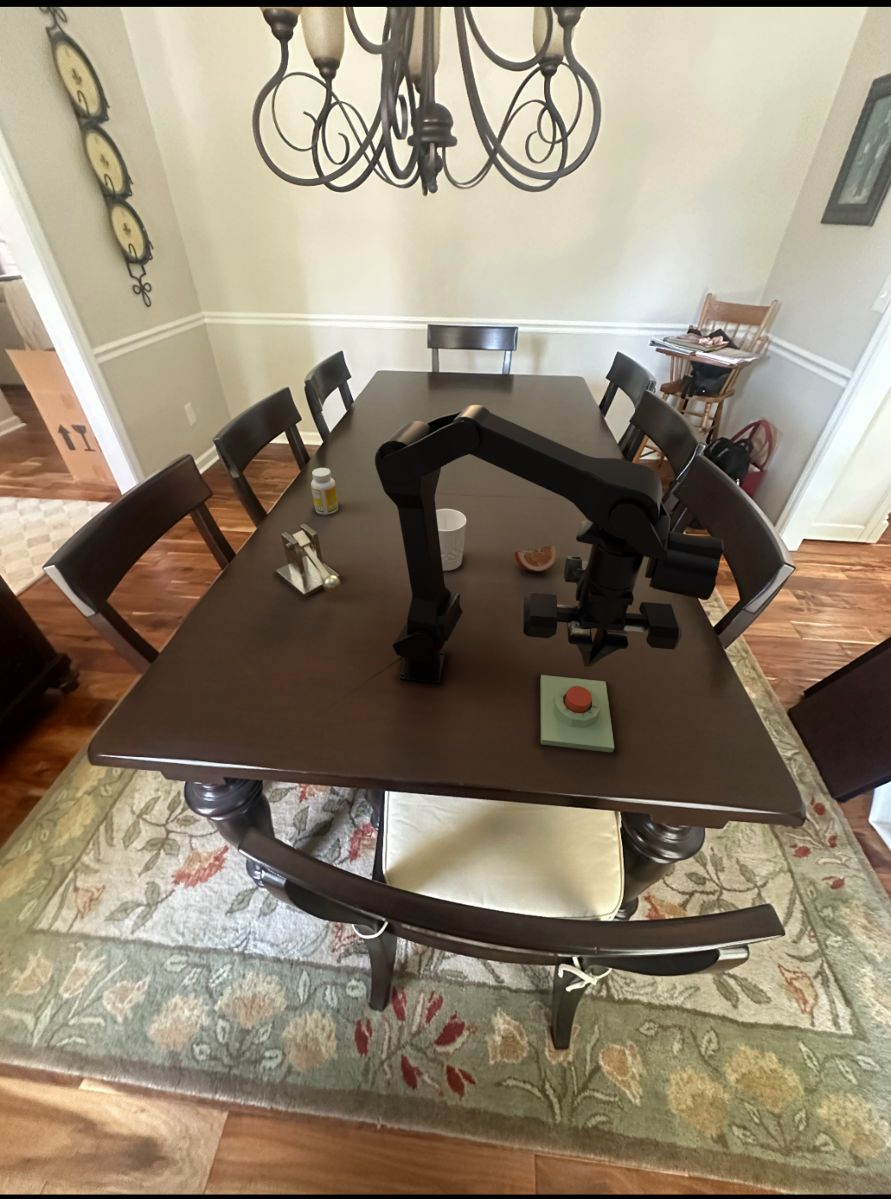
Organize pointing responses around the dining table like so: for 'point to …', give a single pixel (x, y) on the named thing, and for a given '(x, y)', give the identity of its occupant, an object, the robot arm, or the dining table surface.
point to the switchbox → (575, 715)
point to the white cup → (451, 537)
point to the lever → (317, 563)
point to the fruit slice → (536, 558)
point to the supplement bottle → (324, 491)
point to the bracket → (302, 564)
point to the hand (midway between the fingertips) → (586, 664)
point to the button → (578, 699)
